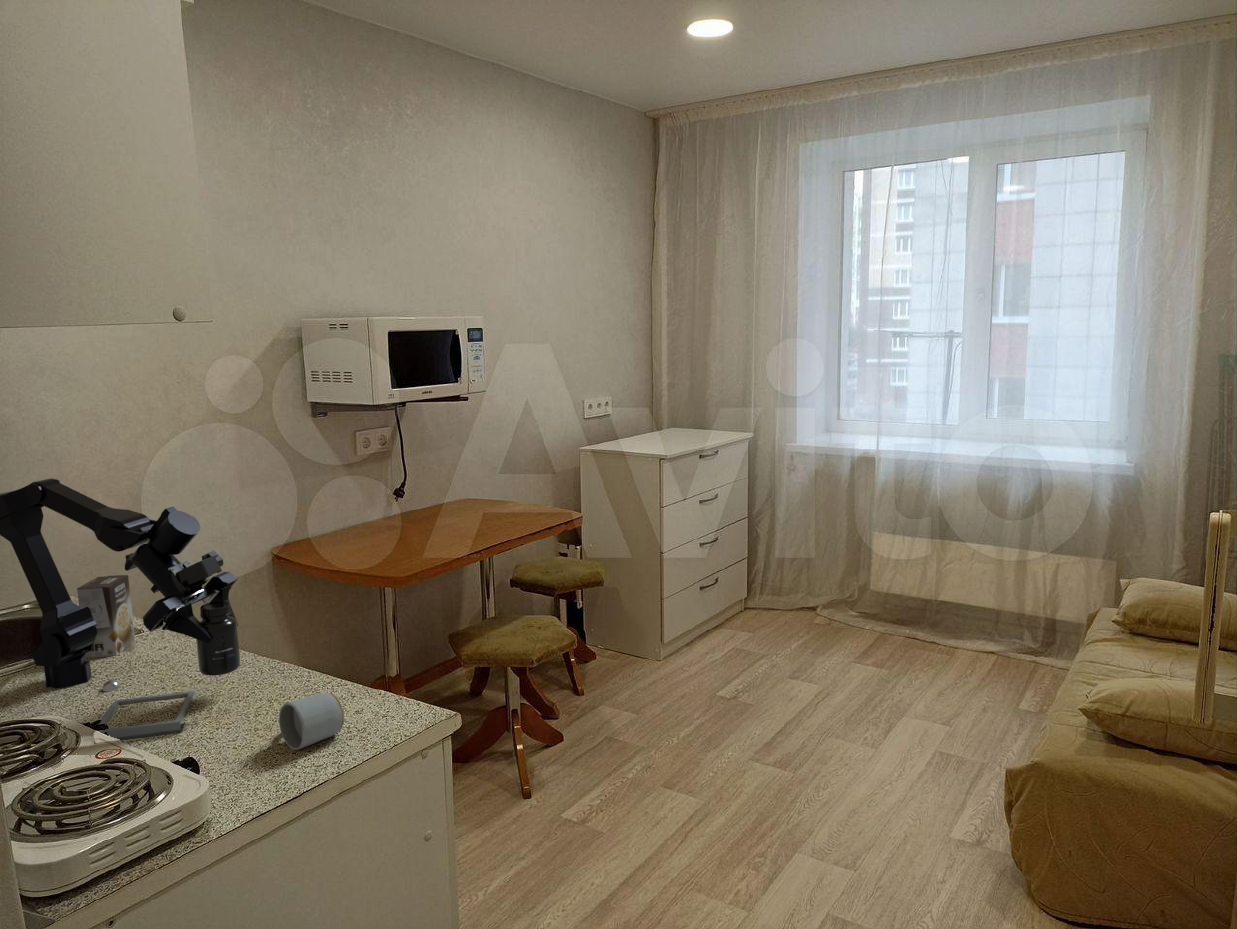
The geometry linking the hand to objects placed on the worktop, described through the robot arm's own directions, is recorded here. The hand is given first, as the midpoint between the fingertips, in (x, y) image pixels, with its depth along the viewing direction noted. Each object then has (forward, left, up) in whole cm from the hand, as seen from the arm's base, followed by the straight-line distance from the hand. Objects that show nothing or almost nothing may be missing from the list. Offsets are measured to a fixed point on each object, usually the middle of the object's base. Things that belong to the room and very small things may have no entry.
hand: (223, 634), depth 157 cm
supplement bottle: (-1, +1, -7) cm, 7 cm away
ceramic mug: (+14, -18, -14) cm, 27 cm away
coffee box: (-28, +34, -13) cm, 46 cm away
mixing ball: (-22, +11, -12) cm, 27 cm away
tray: (-13, -3, -13) cm, 19 cm away
